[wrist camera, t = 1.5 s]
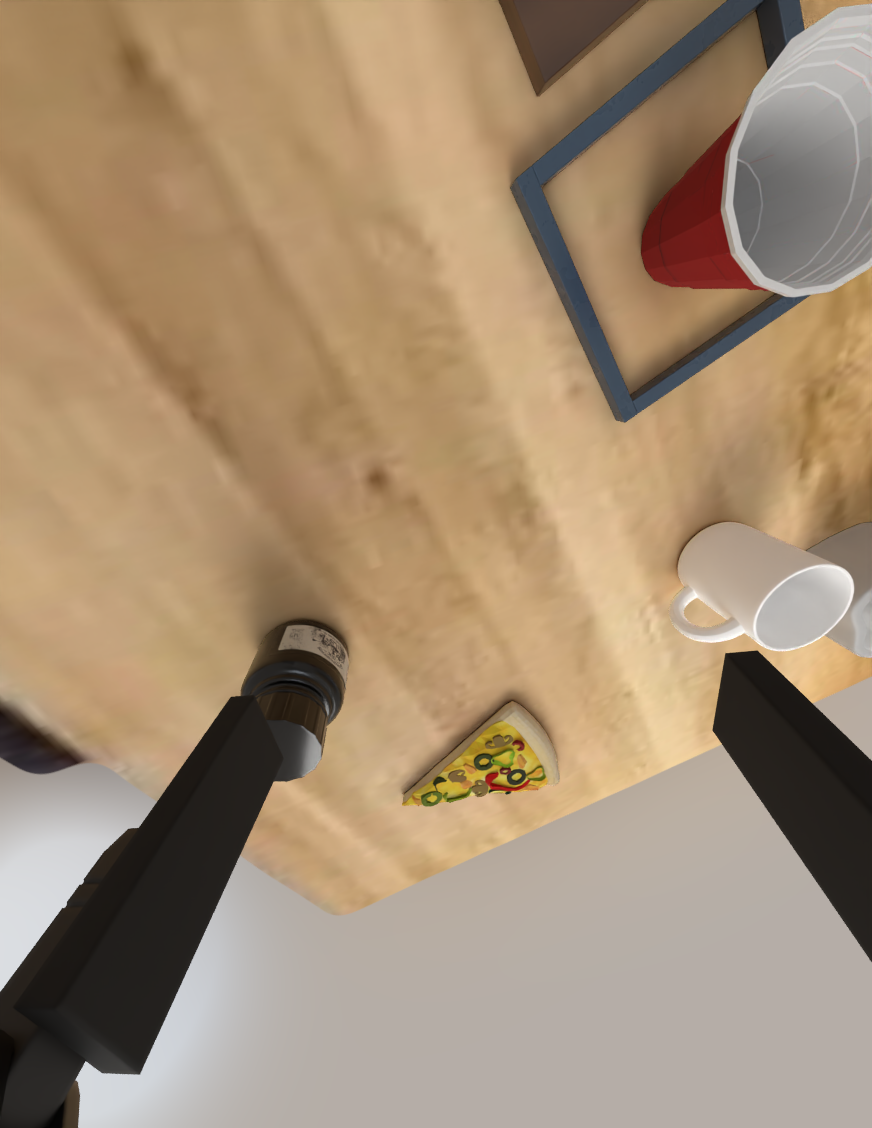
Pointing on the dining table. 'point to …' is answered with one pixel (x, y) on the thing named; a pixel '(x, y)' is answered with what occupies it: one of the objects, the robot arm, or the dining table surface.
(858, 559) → the egg container
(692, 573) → the mug
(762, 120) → the plastic cup
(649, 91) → the square frame
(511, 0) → the walnut board
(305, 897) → the dining table surface
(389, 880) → the dining table surface
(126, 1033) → the robot arm
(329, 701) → the ink bottle
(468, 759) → the pizza slice
